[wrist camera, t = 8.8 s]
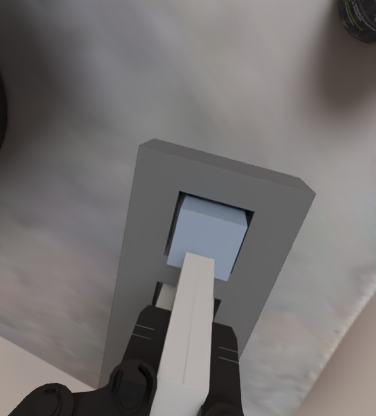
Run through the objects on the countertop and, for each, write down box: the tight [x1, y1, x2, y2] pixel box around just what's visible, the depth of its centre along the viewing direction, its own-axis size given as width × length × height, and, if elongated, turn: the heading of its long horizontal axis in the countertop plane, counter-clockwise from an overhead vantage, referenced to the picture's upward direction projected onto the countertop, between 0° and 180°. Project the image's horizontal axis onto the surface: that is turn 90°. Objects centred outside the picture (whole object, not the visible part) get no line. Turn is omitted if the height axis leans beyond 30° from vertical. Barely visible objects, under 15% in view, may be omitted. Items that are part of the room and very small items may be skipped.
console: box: [98, 139, 316, 389], centre depth 24 cm, size 12×26×4 cm, turn 166°
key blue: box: [167, 193, 247, 281], centre depth 19 cm, size 4×4×4 cm
